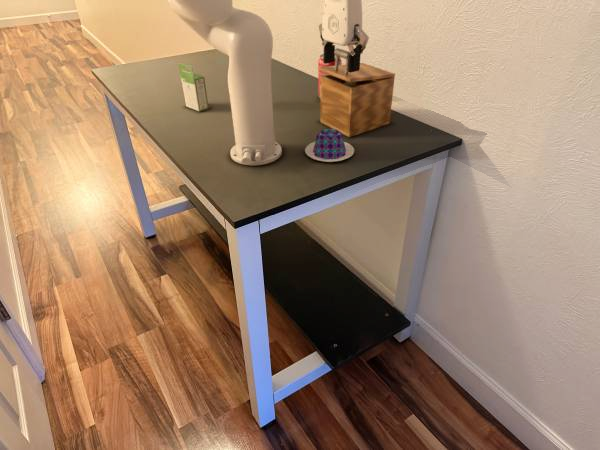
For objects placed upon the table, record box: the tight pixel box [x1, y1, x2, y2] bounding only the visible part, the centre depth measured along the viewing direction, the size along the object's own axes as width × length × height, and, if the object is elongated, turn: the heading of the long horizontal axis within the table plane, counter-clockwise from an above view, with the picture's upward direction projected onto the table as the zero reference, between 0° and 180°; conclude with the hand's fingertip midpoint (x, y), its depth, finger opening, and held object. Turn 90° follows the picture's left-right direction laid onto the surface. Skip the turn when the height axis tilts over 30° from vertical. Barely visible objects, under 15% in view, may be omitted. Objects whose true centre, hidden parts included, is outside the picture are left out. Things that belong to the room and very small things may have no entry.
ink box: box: [177, 62, 210, 112], centre depth 125 cm, size 7×4×13 cm, turn 47°
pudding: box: [304, 128, 355, 163], centre depth 101 cm, size 12×12×5 cm
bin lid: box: [319, 47, 396, 82], centre depth 107 cm, size 15×13×6 cm
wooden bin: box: [319, 74, 395, 138], centre depth 113 cm, size 15×13×13 cm
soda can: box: [317, 53, 343, 100], centre depth 129 cm, size 7×7×13 cm
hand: (341, 66), depth 104 cm, fingers open, 9 cm apart
